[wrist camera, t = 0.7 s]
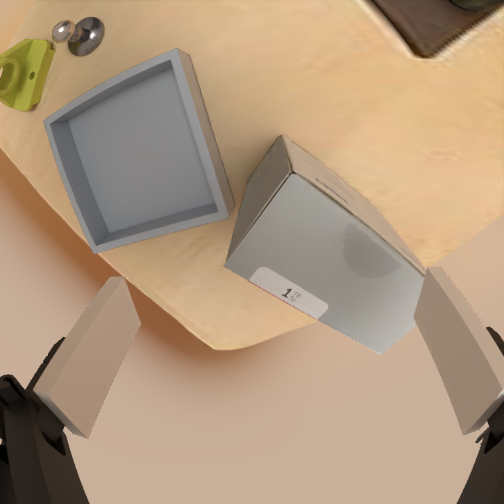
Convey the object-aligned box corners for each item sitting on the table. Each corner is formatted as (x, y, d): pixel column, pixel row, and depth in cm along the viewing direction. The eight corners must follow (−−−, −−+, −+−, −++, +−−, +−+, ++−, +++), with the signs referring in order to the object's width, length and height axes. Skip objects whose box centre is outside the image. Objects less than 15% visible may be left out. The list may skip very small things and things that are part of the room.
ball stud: (67, 31, 26) (37, 26, 20) (100, 10, 25) (71, -1, 18) (74, 63, 28) (42, 61, 22) (107, 42, 27) (78, 35, 21)
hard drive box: (245, 182, 36) (216, 263, 18) (281, 132, 33) (291, 161, 15) (340, 248, 39) (381, 358, 21) (376, 206, 36) (450, 295, 18)
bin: (65, 116, 32) (43, 120, 28) (189, 55, 28) (176, 48, 24) (109, 238, 41) (93, 253, 36) (235, 203, 37) (229, 218, 33)
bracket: (37, 111, 32) (-9, 120, 23) (16, 104, 31) (-28, 113, 22) (58, 41, 26) (12, 37, 18) (35, 39, 26) (-9, 37, 17)
